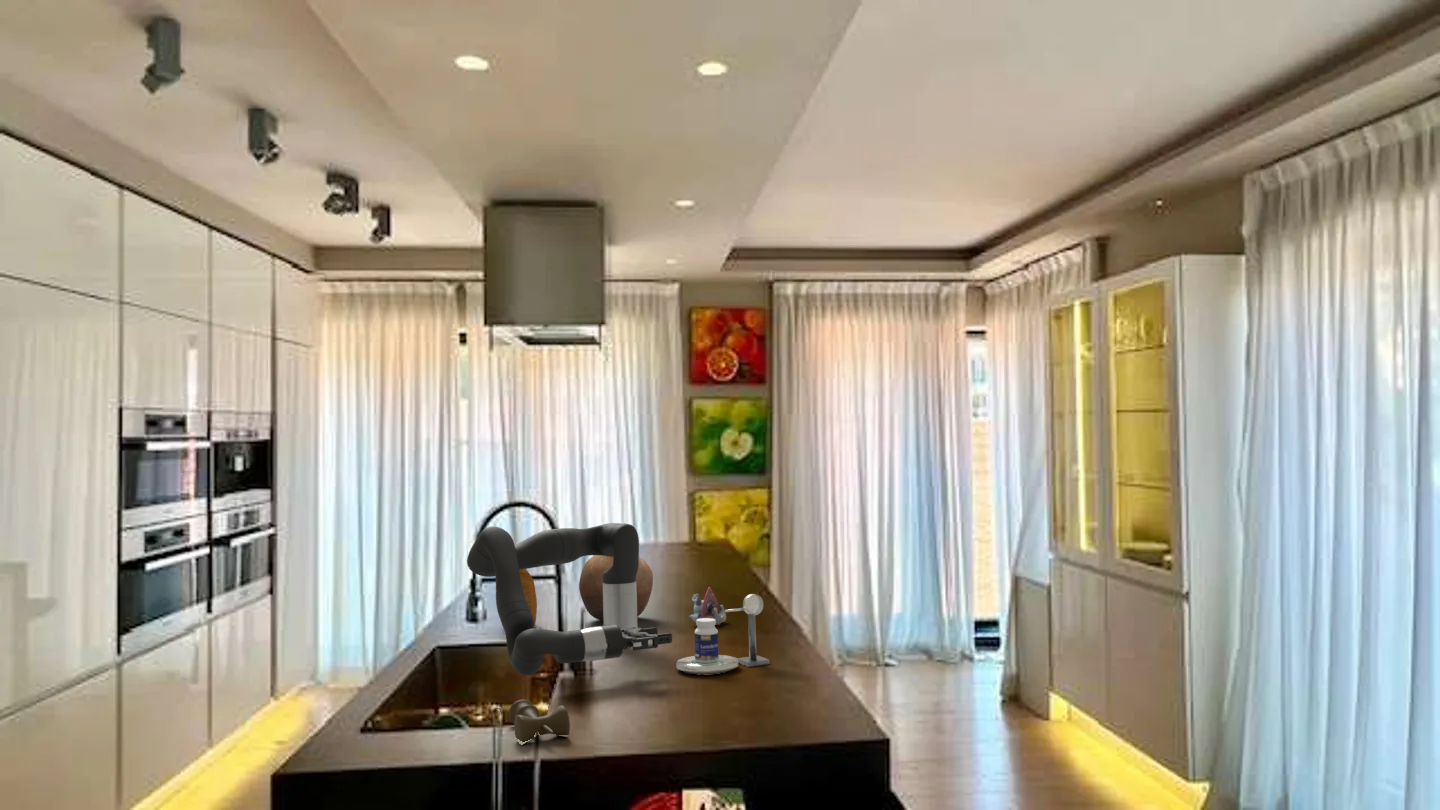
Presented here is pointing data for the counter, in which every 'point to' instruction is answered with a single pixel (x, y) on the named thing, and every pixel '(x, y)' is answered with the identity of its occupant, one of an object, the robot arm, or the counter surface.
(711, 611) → the grey and red figurine
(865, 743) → the counter surface
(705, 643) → the pill bottle
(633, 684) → the counter surface
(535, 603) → the coffee package
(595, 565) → the pottery
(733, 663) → the dish
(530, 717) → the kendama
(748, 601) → the dial stand
